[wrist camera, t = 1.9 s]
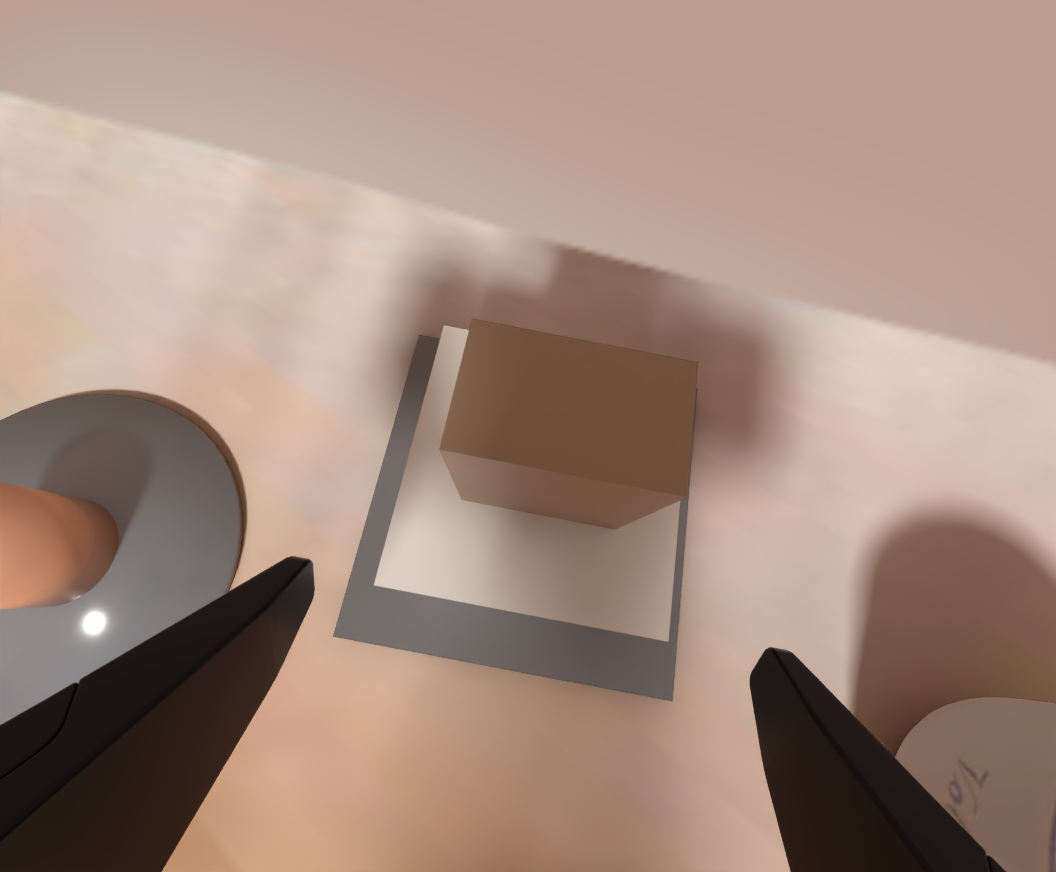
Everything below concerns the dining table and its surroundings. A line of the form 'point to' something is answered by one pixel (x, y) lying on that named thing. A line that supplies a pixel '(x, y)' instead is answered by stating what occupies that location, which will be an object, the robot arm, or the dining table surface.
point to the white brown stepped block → (546, 479)
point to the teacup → (993, 774)
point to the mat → (484, 628)
